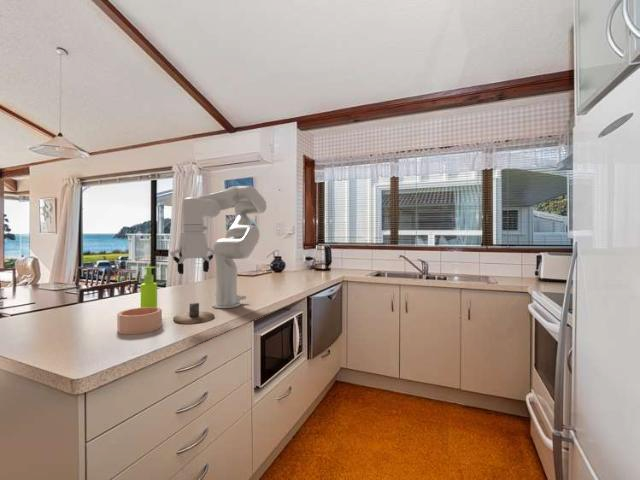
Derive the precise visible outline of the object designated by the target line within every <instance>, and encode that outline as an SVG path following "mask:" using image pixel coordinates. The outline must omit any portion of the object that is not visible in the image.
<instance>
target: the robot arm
mask: <svg viewBox="0 0 640 480" xmlns="http://www.w3.org/2000/svg"><path fill="white" fill-rule="evenodd" d="M232 207H234V213H235V214H234V215H235V220H234V221H233V223H232V224H231V225H230V227H229V228H228V230H227V232H226V235H225V236H226V237H225V238H219V239H218V240H216V241H215V242H214V244H213V249H212V248H210V247H209V246H208V241H207V235H206V233H205V231H207V230H208V227H207V226H205V225H204V224H205V223H204V219H211V218H216V217H217V216H219V215H220V214H221V211H224V210H228V209H231V208H232ZM266 210H267V201H266V199H265V198H264V196H263V195H261V193H260V192H259V190H257V189H256V188H255V187H253V186H251V185H236V186H235V185H233V186H231V187H228V188H226V189H223V190H221V191H217V192H213V193H209V194H205V195H202V196H197V197H185V198H184V199H183V200H182V232H181V233H180V234H179V235H180V236H179V241H178V248H176V249H174V250H171V251H170V252H169V255H170V256H171V258H172V260H173V261H174V262H175V263H176V264H177V272H178V274H180V275H183V274H184V263H183V262H184V261H185V260H186V259H202V260H203V262H202V263H203V265H202V271H203V272H204V273H208V272H209V269H210V262H211V260H212V259H213V258H214V259H215V260H214V261H215V301H214V302H213V303H212V304H211V306H212V308H213V309H232V308H233V309H234V308H236V307H239V306H241V301H242V300H243V301H244V300H247V295H246V294H245V295H239V294H238V267H237V264H236V262H235V260H245V259H248V258H249V257H250V256H251V254H252V253H253V251H254V249H255V247H256V246H257V244H258V242H259V238H260V230H259V228H258V226H256V225H255V224H252V221H251V219H250V218H249V216H248V214H249V215H252V214H253V215H257V214H260V215H261V214H263V213H265V212H266ZM208 252H209V255H208ZM176 254H178V257H177V255H176Z"/></svg>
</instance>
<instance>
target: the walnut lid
mask: <svg viewBox="0 0 640 480" xmlns="http://www.w3.org/2000/svg"><path fill="white" fill-rule="evenodd" d="M188 311H189V312H184V313H179V314H176V315H175V316H173V320H172V321H174V322H173V323H175V324H178V325H192V324H193V325H194V324H195V325H196V324H202V323H206V322H209V321H213V320H214V319H215V314H214V313H212V312H210V311H200V303H199V302H191V303H189V310H188Z"/></svg>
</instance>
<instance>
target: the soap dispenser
mask: <svg viewBox="0 0 640 480" xmlns="http://www.w3.org/2000/svg"><path fill="white" fill-rule="evenodd" d="M157 267H158V266H145V267H144V270H146V274H144V276H143V277H144V278H143V283H140V308H144V307H155V308H158V283H157V282H154V278H155V277H154V274H152V269H157Z"/></svg>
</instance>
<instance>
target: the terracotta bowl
mask: <svg viewBox="0 0 640 480" xmlns="http://www.w3.org/2000/svg"><path fill="white" fill-rule="evenodd" d="M162 314H163V312H162V308H159V307H157V308H155V307H144V308H141V307H135V308H131V309H126V310H125V309H124V310H121V311H120V312H118V313H117V314H116V315H117V316H116V318H117V319H116V320H117V321H116V322H117V328H116V329H117V333H119V334H120V335H141V334H146V333H150V332H154V331H156V330H159V329H160V328H161V327H162V326H163V324H162V323H163V319H162V317H163V316H162Z"/></svg>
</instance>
